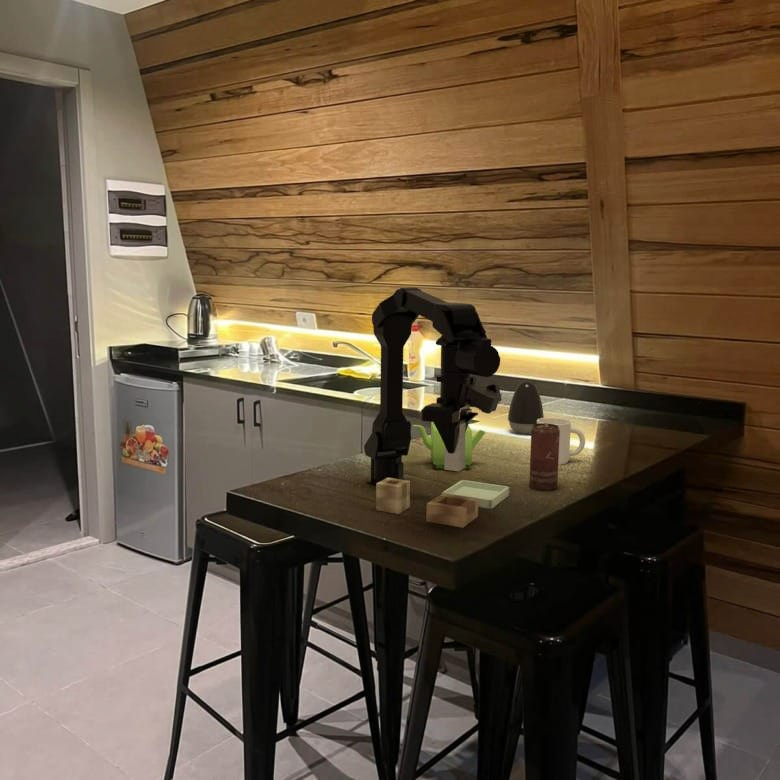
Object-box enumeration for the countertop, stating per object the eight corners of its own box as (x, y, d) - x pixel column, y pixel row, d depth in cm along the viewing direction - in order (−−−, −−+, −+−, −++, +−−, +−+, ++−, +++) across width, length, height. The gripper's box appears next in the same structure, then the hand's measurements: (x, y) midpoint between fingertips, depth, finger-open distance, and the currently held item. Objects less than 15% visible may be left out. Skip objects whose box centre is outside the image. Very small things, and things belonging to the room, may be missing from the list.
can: (553, 483, 180) (555, 422, 178) (560, 491, 174) (562, 428, 171) (526, 482, 180) (528, 422, 178) (532, 491, 174) (534, 428, 171)
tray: (441, 500, 166) (441, 492, 166) (461, 487, 176) (462, 479, 175) (491, 509, 161) (491, 500, 161) (509, 495, 171) (509, 486, 170)
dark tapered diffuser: (548, 431, 233) (551, 380, 231) (534, 438, 225) (536, 384, 222) (516, 427, 239) (518, 377, 236) (501, 433, 230) (503, 381, 228)
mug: (582, 458, 202) (584, 418, 201) (585, 467, 194) (587, 425, 193) (534, 456, 204) (536, 417, 202) (535, 464, 196) (537, 423, 194)
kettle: (454, 476, 185) (455, 429, 183) (408, 465, 194) (408, 420, 192) (491, 464, 196) (493, 419, 194) (446, 454, 205) (447, 411, 203)
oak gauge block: (426, 521, 153) (426, 503, 152) (442, 510, 160) (442, 493, 159) (463, 527, 150) (463, 509, 149) (477, 516, 156) (478, 499, 156)
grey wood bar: (444, 469, 153) (445, 423, 151) (450, 466, 155) (451, 420, 154) (458, 471, 151) (459, 424, 150) (464, 467, 154) (465, 422, 153)
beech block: (376, 510, 160) (376, 483, 159) (387, 503, 164) (387, 477, 163) (398, 513, 157) (398, 487, 156) (409, 507, 162) (409, 480, 161)
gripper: (478, 379, 139) (476, 467, 141) (512, 367, 155) (510, 446, 157) (420, 375, 144) (419, 459, 146) (459, 364, 160) (458, 440, 162)
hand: (454, 451), depth 153 cm, fingers closed on grey wood bar, 3 cm apart
